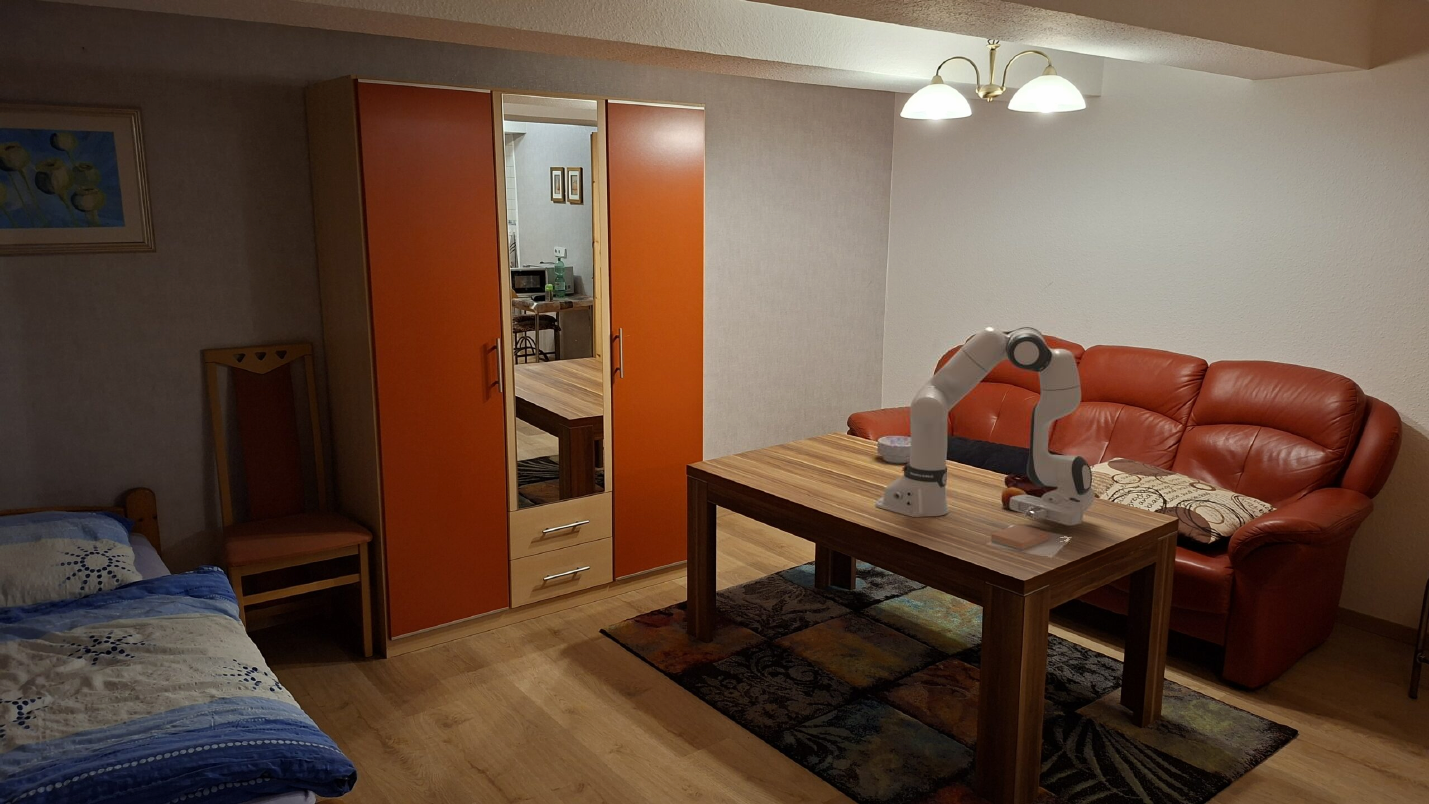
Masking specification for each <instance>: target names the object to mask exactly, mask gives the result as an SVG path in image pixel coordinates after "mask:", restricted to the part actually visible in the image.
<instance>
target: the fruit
mask: <svg viewBox="0 0 1429 804" xmlns="http://www.w3.org/2000/svg"><path fill="white" fill-rule="evenodd" d="M1019 495H1027V494H1026V493H1025V492H1024V491H1023V490H1020V489H1017V488H1013V487H1011V488H1008V489H1007V488H1005V489H1003V490H1002V493H1001V503H1002V507H1003V508H1004V510H1007V509H1009V510H1011V509H1010V498H1011V497H1014V496H1019Z"/></svg>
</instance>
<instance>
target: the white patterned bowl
mask: <svg viewBox="0 0 1429 804" xmlns="http://www.w3.org/2000/svg"><path fill="white" fill-rule="evenodd" d="M877 439H878V440H877V454H878V455H881V456H882V459H883V460H884V461H885V462H887V463H891V464H908V463H909V462H910V449H911V436H910V437H909V436H904V435H903V436H902V435H887V436H883V437H880V438H877Z"/></svg>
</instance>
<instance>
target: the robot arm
mask: <svg viewBox="0 0 1429 804" xmlns="http://www.w3.org/2000/svg"><path fill="white" fill-rule="evenodd" d="M1046 342H1047V341H1046V339H1045V337H1044V335H1043V334H1042V332H1041V331H1039V330H1038V329H1036V328H1034V327H1030V326H1027V327H1026V326H1025V327H1020V328H1019V327H1018V328H1016V329H1013V330H1011V331H1007V332H1005V333H1004V332H1003V331H1002V330H1001V329H999V328H996V327H994V326H986V327H984V328H983V329H982V330H980V331H978V332H977V333H976V334H975V335H973V336H972V337H971V338H970V339H969V340H967V341H966V342H965V343H964V344H963V346H962V347H960V349H958V350H957V352H956V353H955V354H954V355H953V356H952V357H951V358H950V359H949V360H948V361H947V362H946V363H945V364H944V365H943V366H942V367H941V368H940V369H939V370H938V371H937V372H936V373H935V374H934V375H933V376H932V377H931V378H930V379H928V381H926V383H925V384H924V385H922V387H921V388H920V389H919V390H918V391H917V393H916V394H915V396H914V398H913V399H912V401H911V403H910V417H909V418H910V419H909V420H910V438H911V449H910V462H908V463H906V465H904V466H903V467H902V468H901V472H903V475H901V476H900V477H898V478H896V479H894V480H893V481H892V482H890V483H888V485H887V486H886V487H885V490H884V492H883V493H884V494H883V496H882V497H880V498H878V499H877V500H876V503H875V506H876V507H877V508H880V509H884V510H887V511H890V512H894V513H898V514H901V515H905V516H908V517H912V518H921V517H939V516H944V515H947V514H948V513H949V512H950V510H949V507H948V501H947V500H948V499H947V491H946V486H947V482H948V467H947V453H948V418H949V417H948V415H949V412H950V411H951V410H952V408H954V407H955V406H956V405H957V404H958V403H959V402H960V401H961V400H962V399H963V398H964V397H966V396H967V395H968V394H969V393H970V392H972V390H974V388H975V387H977V385H978V384H979V383H980V382H981V381H983V379H985V377H986V376H987V375H988V374H989V373H991V371H992V370H994V368H995V367H996V366H997V365H998V364H999V363H1001V362H1003V361H1006V360H1009V362H1010V363H1011V364H1012V365H1013V366H1014V367H1016V368H1017V369H1020V370H1024V371H1030V372H1036V373H1038V378H1039V387H1040V396H1039V397H1040V398H1039V401H1038V403H1036V404H1034V406H1033V407H1032V408H1033V409H1032V412H1031V418H1030V419H1031V420H1030V433H1029V434H1030V438H1029V453H1028V454H1029V456H1028V459H1027V464H1026V474H1027V475H1026V476H1028V477H1029V479H1030V480H1031V481H1032V483H1033V484H1034V485H1036V486H1038V487H1050V486H1053V487H1058V488H1057V489H1056V490H1053V491H1050V492H1047V493H1045V494H1044V495H1043V496H1042V497H1041V498H1038V497H1034V496H1030V495H1019V496H1014V497H1011V498H1010V509H1009V510H1013V511H1015V512H1019V513H1022V514H1024V516H1025V517H1028V518H1032V519H1045V520H1048V521H1050V522H1055V523H1058V524H1062V525H1065V526H1075V525H1079V524H1082V523H1083V519H1084V513H1085V512H1086V511H1088V510H1089V509H1090V508H1091V507H1092V505H1093V504H1094V502H1095V496H1096V495H1095V491H1094V489H1093V487H1092V482H1093V481H1092V479H1093V473H1092V469H1091V466H1090V465H1089V462H1087V460H1086V459H1085V458H1084V457H1082V456H1080V455H1066V454H1065V455H1061V454H1051V453H1050V452H1049V450H1048V449H1049V433H1050V426H1051V424H1052V423H1053V422H1054V421H1056V420H1058V419H1061V418H1063V417H1066V416H1068V415H1070V414H1071V413H1073V412H1074V411H1076V409H1077V408H1078V407H1079V406H1080V403H1081V401H1082V388H1081V379H1080V374H1079V370H1078V365H1077V362H1076V358H1075V356H1074V354H1073V352H1072V351H1070V350H1067V349H1064V348H1051V347H1049V346H1048V345H1047V343H1046Z"/></svg>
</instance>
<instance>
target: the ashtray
mask: <svg viewBox="0 0 1429 804" xmlns="http://www.w3.org/2000/svg"><path fill="white" fill-rule="evenodd" d="M1004 485H1005V487H1006V489H1008V488H1011V487H1013V488H1017V489H1020V490H1023V491H1024V492H1025V493H1026V494H1027V495H1030V496H1034V497H1038V498H1041V497H1042V496H1043V495H1044V494H1045V493H1047V492H1050V491H1053V490H1056V489H1057V488H1058V487H1053V486H1050V487H1038V486H1036V485H1034V484H1033V483H1032V481H1031V480H1030V479H1029V477H1028V475H1022V476H1021V477H1019V478H1017V477H1016V475H1015V474H1008V475H1006V476H1005V477H1004Z"/></svg>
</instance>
